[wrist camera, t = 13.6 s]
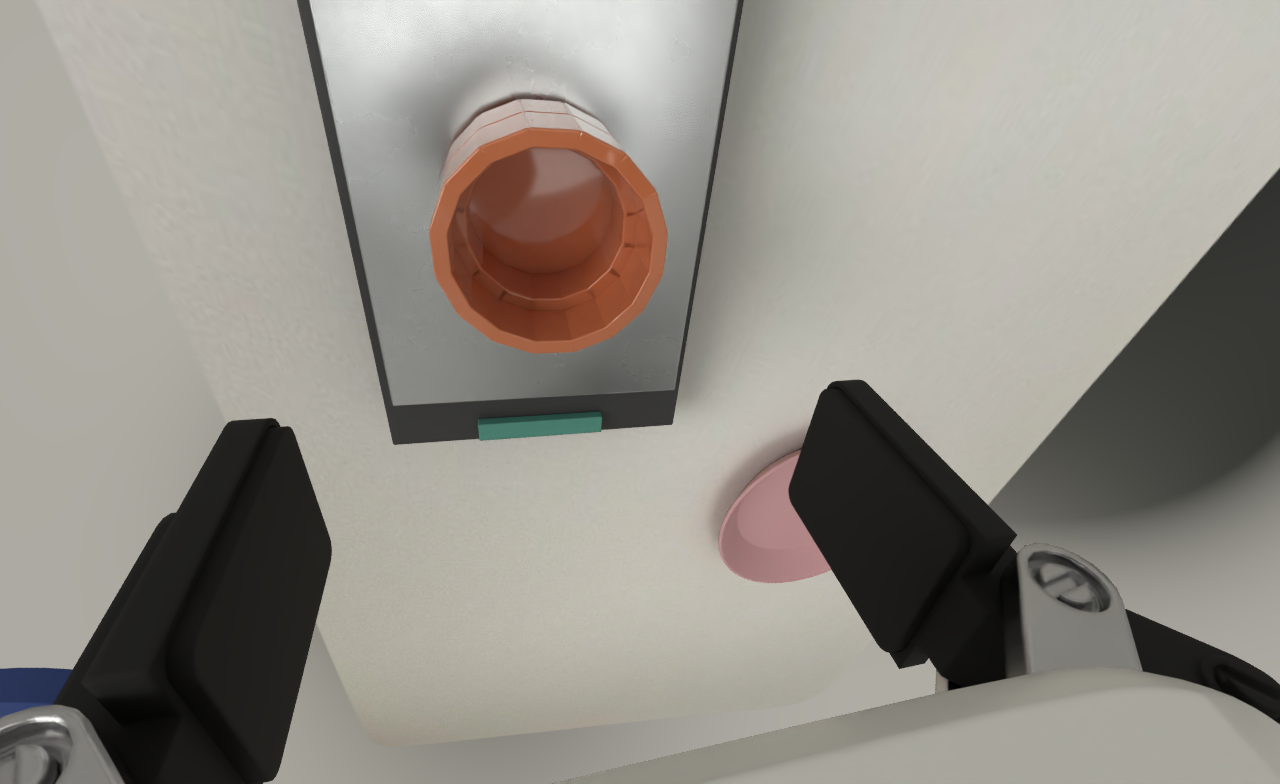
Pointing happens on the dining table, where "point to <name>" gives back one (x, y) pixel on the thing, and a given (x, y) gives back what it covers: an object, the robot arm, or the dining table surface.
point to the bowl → (545, 229)
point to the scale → (415, 156)
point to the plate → (769, 531)
